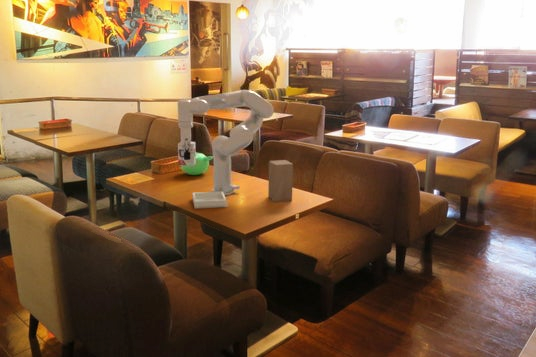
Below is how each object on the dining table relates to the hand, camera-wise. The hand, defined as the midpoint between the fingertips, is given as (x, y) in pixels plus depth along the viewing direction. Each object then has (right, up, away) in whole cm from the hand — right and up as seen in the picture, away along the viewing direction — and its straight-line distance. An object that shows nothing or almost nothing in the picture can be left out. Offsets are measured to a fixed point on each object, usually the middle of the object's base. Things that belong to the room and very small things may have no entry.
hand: (187, 157), depth 264 cm
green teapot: (-3, -8, +51) cm, 52 cm away
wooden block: (+49, -22, +5) cm, 54 cm away
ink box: (0, -4, +1) cm, 4 cm away
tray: (+12, -23, -5) cm, 27 cm away
